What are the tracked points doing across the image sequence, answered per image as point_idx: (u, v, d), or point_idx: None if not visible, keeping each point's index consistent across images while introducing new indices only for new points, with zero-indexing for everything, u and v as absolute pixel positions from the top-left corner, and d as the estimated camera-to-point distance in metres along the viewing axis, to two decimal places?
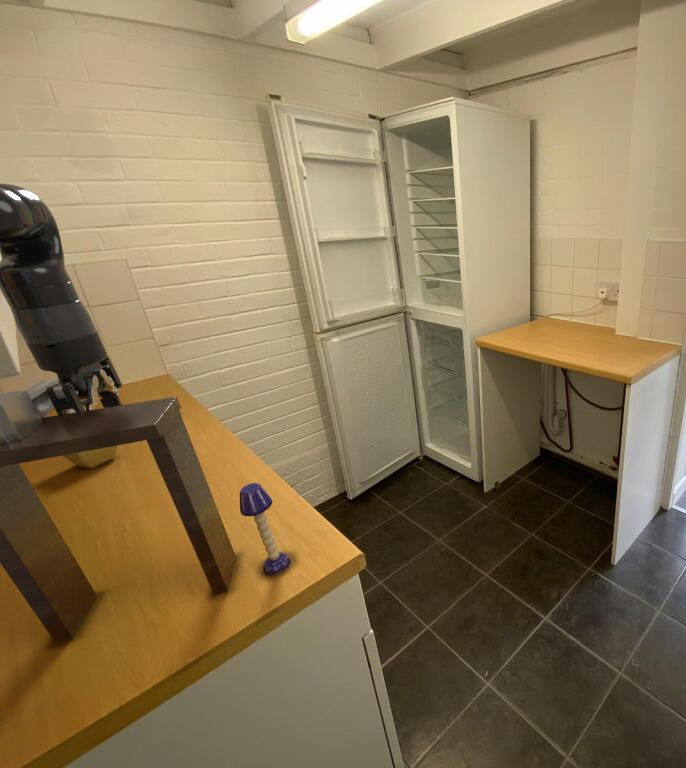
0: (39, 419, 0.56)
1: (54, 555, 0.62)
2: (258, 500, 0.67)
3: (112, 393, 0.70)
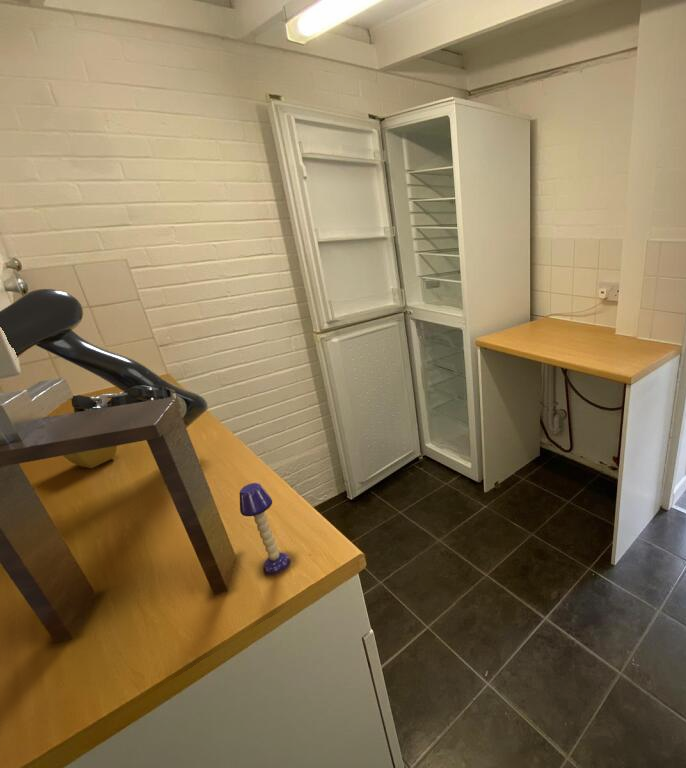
0: (39, 419, 0.56)
1: (54, 555, 0.62)
2: (258, 500, 0.67)
3: (94, 407, 0.77)
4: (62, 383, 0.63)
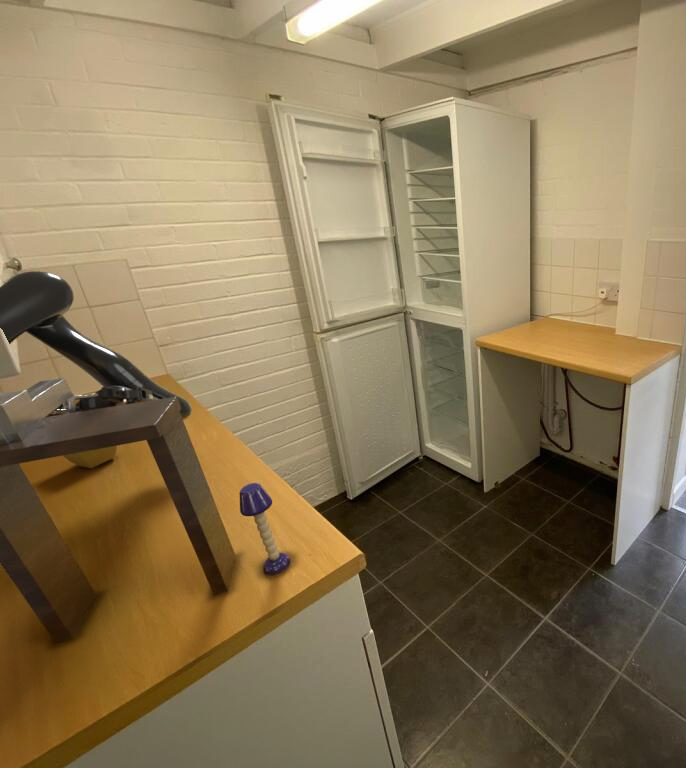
0: (39, 419, 0.56)
1: (54, 555, 0.62)
2: (258, 500, 0.67)
3: (59, 410, 0.70)
4: (62, 383, 0.63)
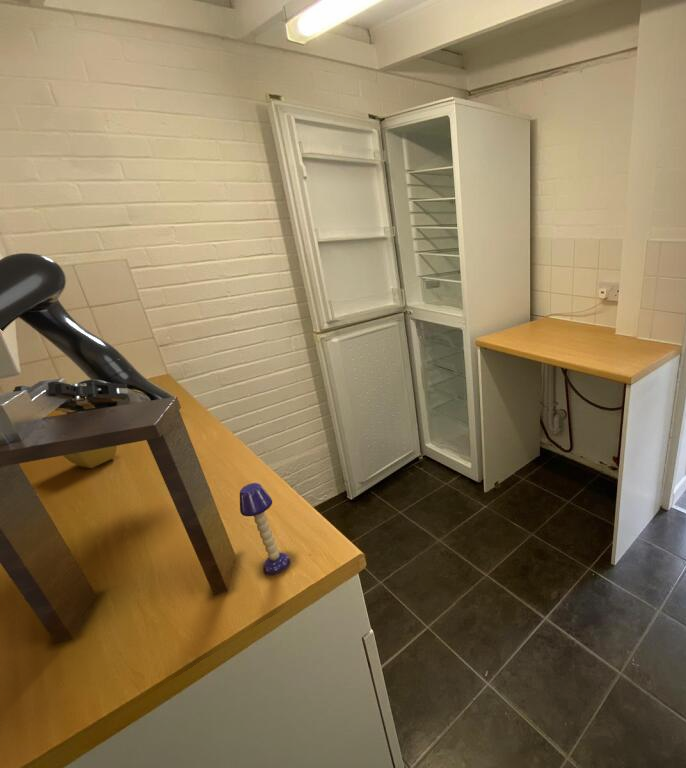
0: (39, 419, 0.56)
1: (54, 555, 0.62)
2: (258, 500, 0.67)
3: None
4: None
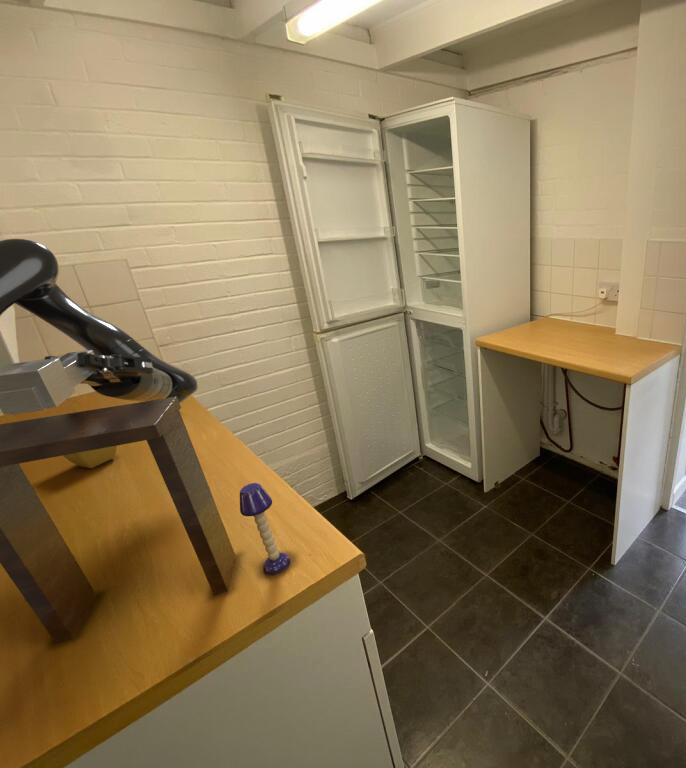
0: (71, 387, 0.56)
1: (54, 555, 0.62)
2: (258, 500, 0.67)
3: None
4: None
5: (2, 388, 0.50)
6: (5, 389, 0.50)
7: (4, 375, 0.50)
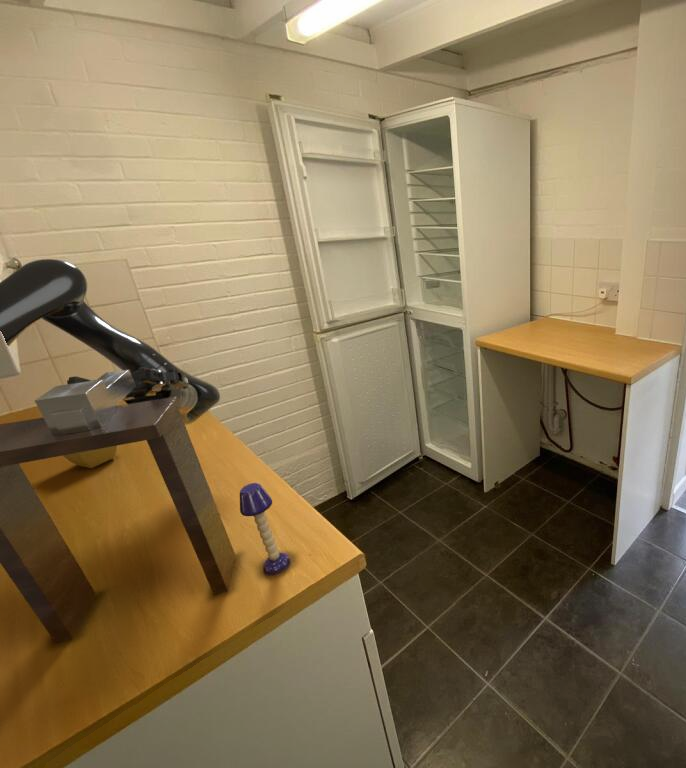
0: (113, 407, 0.59)
1: (54, 555, 0.62)
2: (258, 500, 0.67)
3: None
4: (127, 374, 0.66)
5: (52, 410, 0.53)
6: (55, 411, 0.53)
7: (54, 398, 0.52)
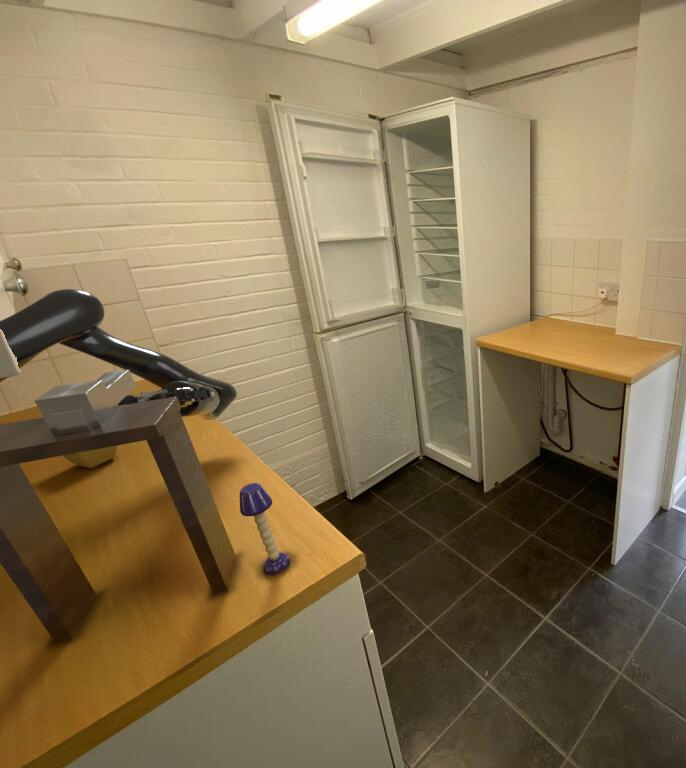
0: (113, 407, 0.59)
1: (54, 555, 0.62)
2: (258, 500, 0.67)
3: None
4: (127, 374, 0.66)
5: (52, 410, 0.53)
6: (55, 411, 0.53)
7: (54, 398, 0.52)
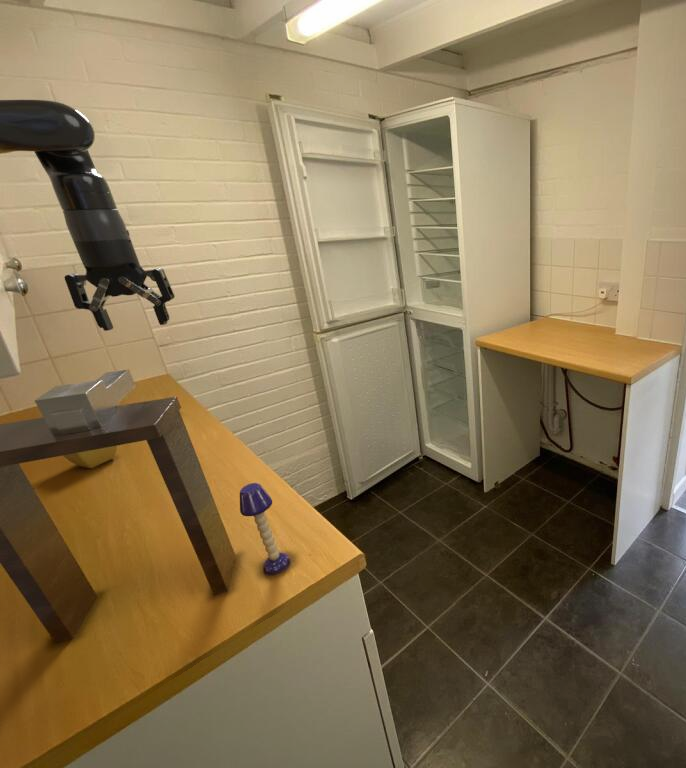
0: (113, 407, 0.59)
1: (54, 555, 0.62)
2: (258, 500, 0.67)
3: (103, 304, 0.77)
4: (127, 374, 0.66)
5: (52, 410, 0.53)
6: (55, 411, 0.53)
7: (54, 398, 0.52)
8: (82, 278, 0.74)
